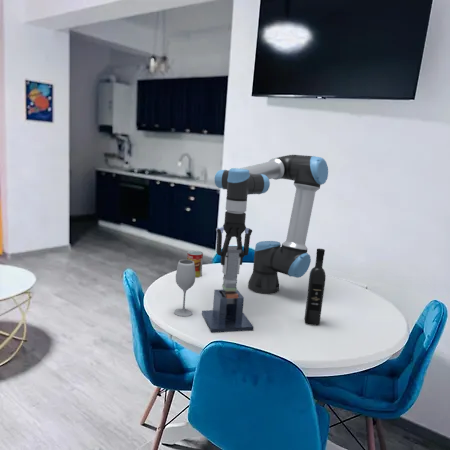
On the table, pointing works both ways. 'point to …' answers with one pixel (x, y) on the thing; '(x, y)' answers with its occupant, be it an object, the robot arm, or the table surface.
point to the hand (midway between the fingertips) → (230, 273)
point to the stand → (227, 314)
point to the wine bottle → (315, 291)
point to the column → (231, 273)
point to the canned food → (196, 261)
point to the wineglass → (185, 282)
